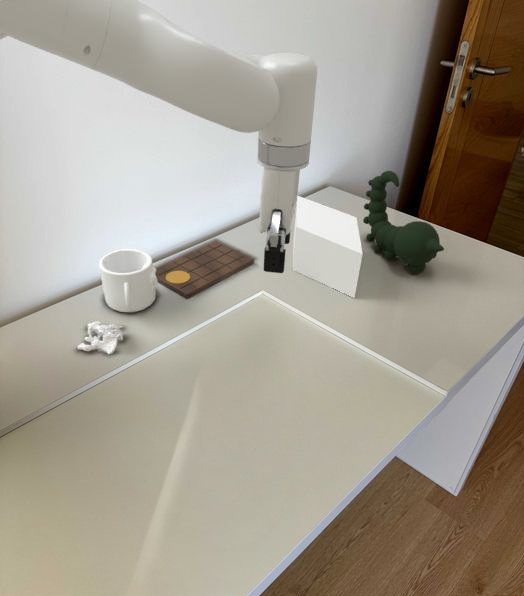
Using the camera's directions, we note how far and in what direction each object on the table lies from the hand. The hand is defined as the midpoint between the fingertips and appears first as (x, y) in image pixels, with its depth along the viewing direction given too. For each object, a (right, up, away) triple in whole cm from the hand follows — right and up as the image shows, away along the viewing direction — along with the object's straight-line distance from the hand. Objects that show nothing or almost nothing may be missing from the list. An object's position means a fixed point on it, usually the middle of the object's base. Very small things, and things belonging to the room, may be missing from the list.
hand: (277, 256), depth 87 cm
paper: (+11, +4, +31) cm, 33 cm away
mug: (-28, -7, +16) cm, 33 cm away
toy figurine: (+28, +5, +35) cm, 45 cm away
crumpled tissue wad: (-30, -15, +6) cm, 34 cm away
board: (-15, +2, +27) cm, 31 cm away
